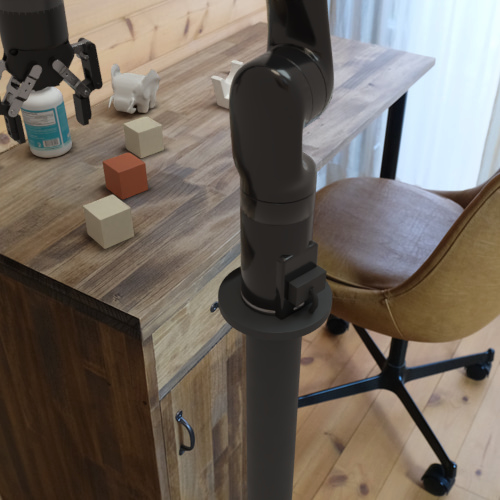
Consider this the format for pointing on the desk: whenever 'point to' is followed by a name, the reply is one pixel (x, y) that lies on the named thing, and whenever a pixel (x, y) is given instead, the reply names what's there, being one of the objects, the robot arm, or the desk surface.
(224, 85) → the bracket
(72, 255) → the desk surface
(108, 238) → the near block
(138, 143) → the far block
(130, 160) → the block
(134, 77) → the elephant figurine
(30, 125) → the pill bottle
